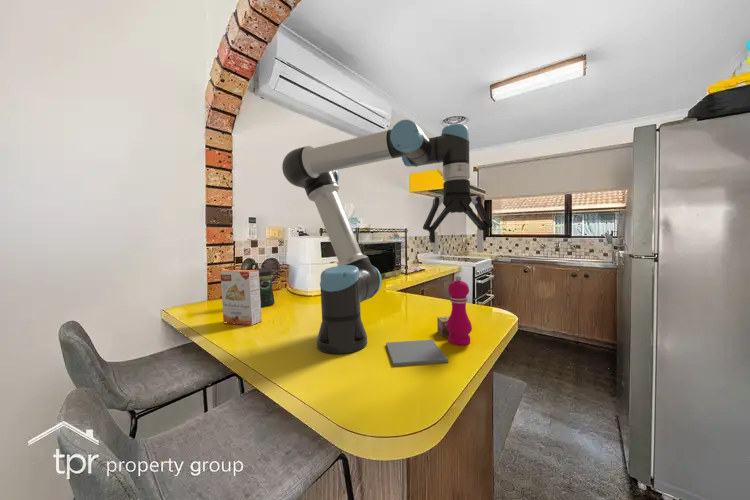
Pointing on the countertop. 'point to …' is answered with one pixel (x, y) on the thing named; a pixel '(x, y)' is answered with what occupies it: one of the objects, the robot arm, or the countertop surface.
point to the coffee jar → (266, 287)
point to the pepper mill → (459, 313)
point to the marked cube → (443, 326)
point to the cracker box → (241, 296)
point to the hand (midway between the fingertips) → (458, 253)
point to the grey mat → (415, 353)
